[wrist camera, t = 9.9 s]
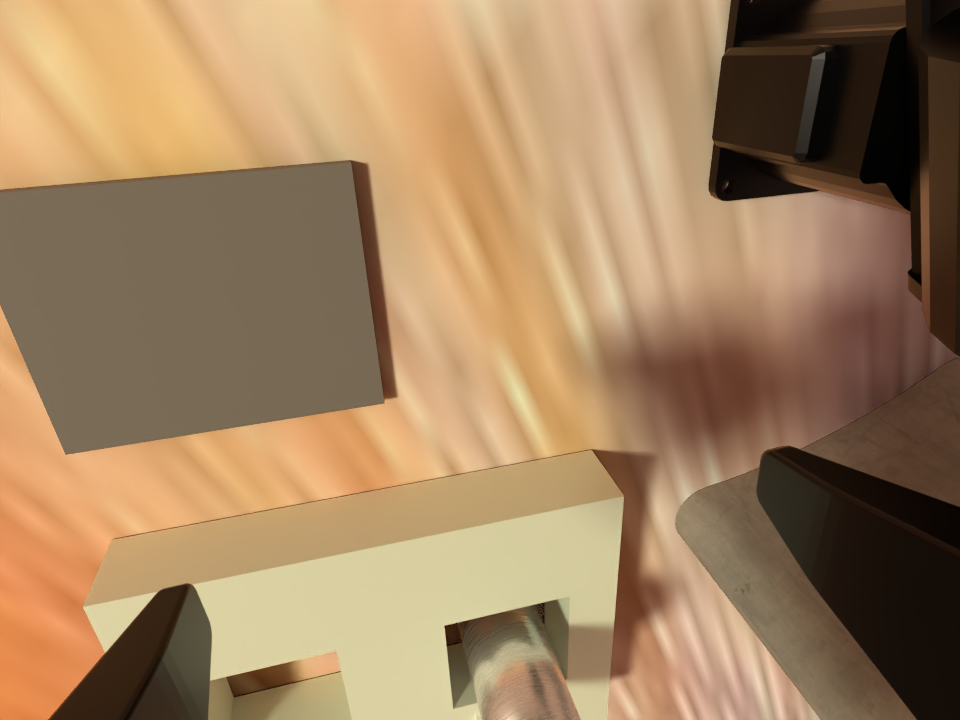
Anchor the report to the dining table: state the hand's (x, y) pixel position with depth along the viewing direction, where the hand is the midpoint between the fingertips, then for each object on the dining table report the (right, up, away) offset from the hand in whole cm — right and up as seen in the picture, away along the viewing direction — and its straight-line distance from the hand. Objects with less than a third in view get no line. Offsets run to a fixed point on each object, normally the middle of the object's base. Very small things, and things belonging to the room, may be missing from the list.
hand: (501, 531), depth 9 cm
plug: (0, -8, +18) cm, 19 cm away
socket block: (-4, -9, +17) cm, 19 cm away
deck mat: (-9, +4, +9) cm, 13 cm away
